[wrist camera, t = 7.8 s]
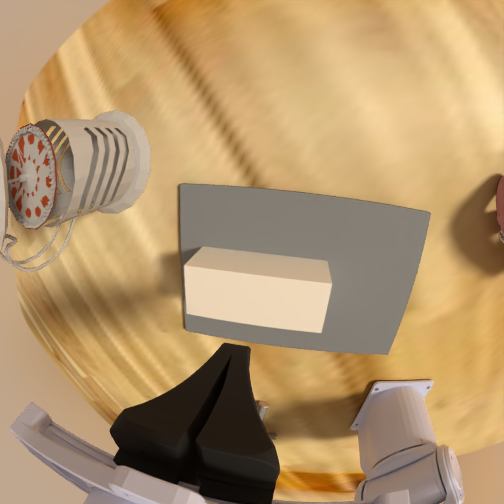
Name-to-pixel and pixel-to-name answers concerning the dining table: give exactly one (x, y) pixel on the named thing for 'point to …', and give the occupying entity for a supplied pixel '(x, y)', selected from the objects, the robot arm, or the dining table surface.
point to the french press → (71, 173)
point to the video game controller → (500, 207)
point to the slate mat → (313, 247)
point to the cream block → (258, 289)
